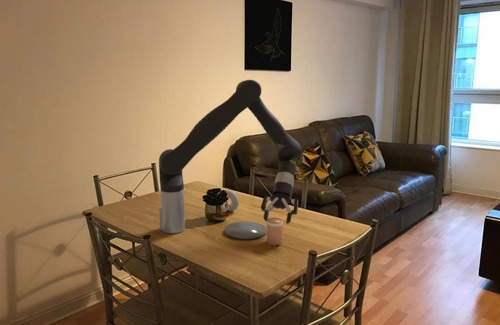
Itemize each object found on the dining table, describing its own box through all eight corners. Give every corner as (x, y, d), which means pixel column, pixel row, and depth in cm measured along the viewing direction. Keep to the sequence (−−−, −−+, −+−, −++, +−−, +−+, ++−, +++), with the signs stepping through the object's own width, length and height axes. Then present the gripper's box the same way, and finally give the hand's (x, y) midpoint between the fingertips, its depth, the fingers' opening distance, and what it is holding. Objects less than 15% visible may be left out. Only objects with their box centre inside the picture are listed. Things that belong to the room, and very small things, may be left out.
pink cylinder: (264, 244, 158) (265, 222, 156) (268, 238, 164) (269, 217, 162) (280, 246, 156) (281, 224, 155) (284, 240, 162) (284, 218, 160)
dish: (218, 237, 165) (218, 233, 165) (232, 222, 181) (232, 219, 181) (259, 242, 160) (259, 238, 160) (270, 227, 176) (270, 224, 176)
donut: (219, 209, 198) (219, 189, 196) (224, 207, 201) (224, 187, 199) (235, 214, 192) (235, 193, 190) (240, 212, 195) (240, 191, 193)
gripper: (265, 179, 168) (257, 215, 160) (300, 182, 164) (293, 219, 156) (268, 188, 174) (260, 224, 166) (302, 191, 170) (295, 228, 162)
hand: (276, 221), depth 161 cm, fingers open, 8 cm apart
